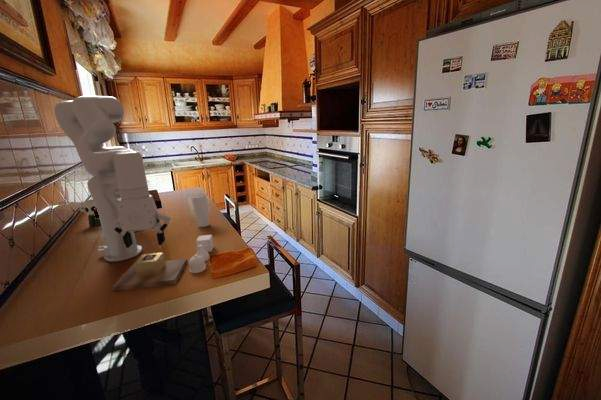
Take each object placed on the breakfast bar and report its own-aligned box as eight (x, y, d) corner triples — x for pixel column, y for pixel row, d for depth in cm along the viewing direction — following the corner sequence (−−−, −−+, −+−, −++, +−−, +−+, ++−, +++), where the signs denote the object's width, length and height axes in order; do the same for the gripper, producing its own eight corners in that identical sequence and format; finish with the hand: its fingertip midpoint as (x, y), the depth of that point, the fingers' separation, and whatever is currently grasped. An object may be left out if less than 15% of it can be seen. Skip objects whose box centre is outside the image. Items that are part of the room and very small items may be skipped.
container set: (200, 248, 111) (198, 235, 110) (214, 247, 112) (212, 234, 110) (187, 274, 92) (185, 259, 91) (204, 272, 93) (201, 257, 91)
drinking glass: (213, 224, 137) (209, 194, 133) (202, 229, 132) (197, 198, 128) (204, 222, 141) (200, 193, 137) (193, 227, 135) (188, 196, 131)
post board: (113, 291, 85) (108, 271, 83) (134, 268, 98) (129, 251, 96) (175, 283, 86) (171, 264, 85) (187, 262, 100) (184, 245, 98)
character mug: (81, 228, 143) (74, 204, 139) (87, 224, 149) (80, 200, 146) (106, 225, 146) (100, 201, 142) (110, 221, 152) (105, 197, 149)
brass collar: (137, 277, 89) (134, 263, 87) (145, 267, 95) (142, 254, 93) (158, 275, 89) (155, 261, 88) (165, 265, 95) (162, 252, 94)
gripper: (97, 198, 80) (110, 252, 85) (160, 194, 82) (170, 247, 87) (110, 191, 88) (122, 241, 92) (168, 188, 89) (177, 237, 94)
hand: (145, 244), depth 90 cm, fingers open, 9 cm apart
